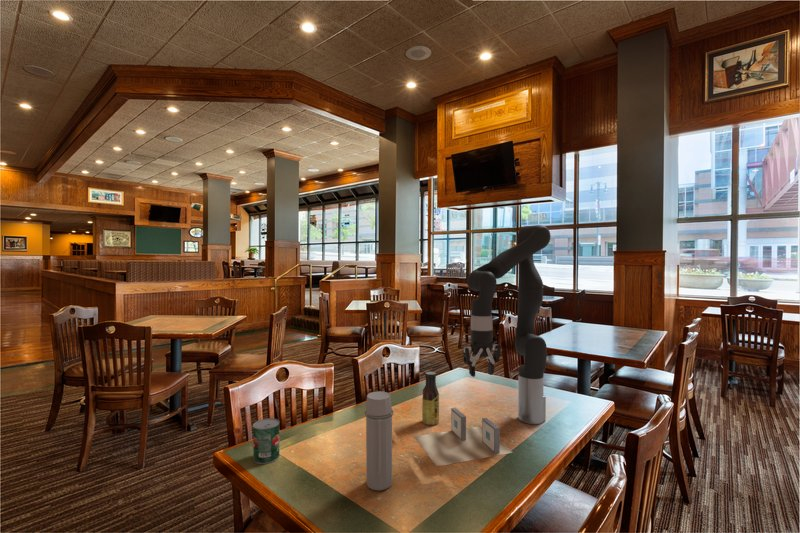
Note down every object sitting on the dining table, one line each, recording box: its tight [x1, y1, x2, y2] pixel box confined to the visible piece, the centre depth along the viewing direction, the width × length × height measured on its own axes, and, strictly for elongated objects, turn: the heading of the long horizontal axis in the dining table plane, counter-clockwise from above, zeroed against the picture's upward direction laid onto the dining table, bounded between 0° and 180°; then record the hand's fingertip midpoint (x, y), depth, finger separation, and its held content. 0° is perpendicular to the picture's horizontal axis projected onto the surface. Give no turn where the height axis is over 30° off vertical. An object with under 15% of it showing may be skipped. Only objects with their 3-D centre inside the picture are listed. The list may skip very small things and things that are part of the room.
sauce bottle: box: [421, 371, 440, 427], centre depth 143 cm, size 7×6×20 cm
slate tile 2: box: [481, 417, 501, 454], centre depth 124 cm, size 2×8×8 cm, turn 18°
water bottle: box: [364, 390, 394, 492], centre depth 105 cm, size 9×8×25 cm
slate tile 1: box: [450, 407, 467, 441], centre depth 132 cm, size 2×8×8 cm, turn 18°
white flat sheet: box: [413, 425, 514, 467], centre depth 126 cm, size 26×20×2 cm
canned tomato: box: [252, 417, 281, 465], centre depth 121 cm, size 8×8×11 cm
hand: (481, 375), depth 135 cm, fingers open, 6 cm apart
